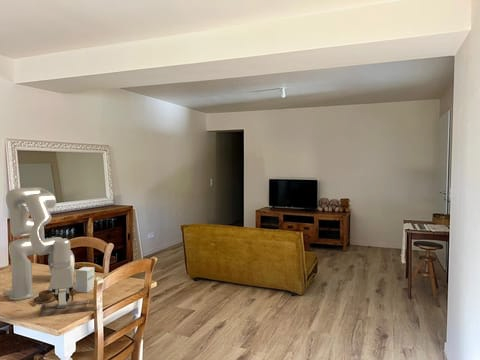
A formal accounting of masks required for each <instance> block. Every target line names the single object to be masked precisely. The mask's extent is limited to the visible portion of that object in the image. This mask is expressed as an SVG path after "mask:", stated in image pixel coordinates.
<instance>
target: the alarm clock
mask: <svg viewBox="0 0 480 360" xmlns="http://www.w3.org/2000/svg"><path fill="white" fill-rule="evenodd" d="M47 257H48V258H47V262H48V267H49V274H50V275H51V271H52V268H53V266H50V263H53V262H54V258H53V253H50V254H48V256H47ZM70 260H71V266H72V268H73V274H74V273H75V254H74V253H73V251H72V250H71V249H70Z"/></svg>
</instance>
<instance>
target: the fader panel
mask: <svg viewBox="0 0 480 360" xmlns="http://www.w3.org/2000/svg"><path fill="white" fill-rule="evenodd" d="M94 299H95V298H91V299H85V300H84V299H82V300H76V301H69V303H68V305H67V307H66V308H58V309H57V306H58V304H59V303H58V302H57V303H47V304H45V303H43V304H41V306H40V308H39V309H40V311H38V312H39V313H38V316H39V317H41V318H42V317H48V316H49V317H50V316H57V315H64V314H65V315H66V314H67V315H68V314H73V313H75V314H76V313H81V312H82V313H83V312H90V311H91V312H92V311H95V310H94Z"/></svg>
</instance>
